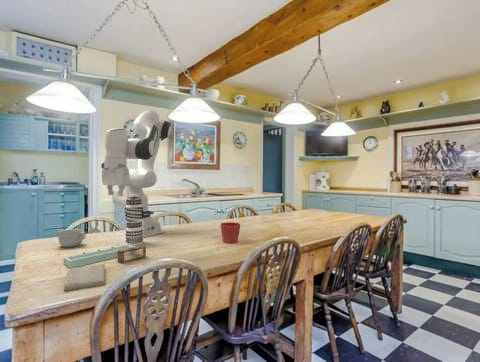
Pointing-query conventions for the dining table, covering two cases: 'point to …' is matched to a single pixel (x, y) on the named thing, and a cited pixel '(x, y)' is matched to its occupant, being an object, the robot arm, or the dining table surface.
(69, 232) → the teacup
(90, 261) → the ledge
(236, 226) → the flower pot
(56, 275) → the dining table surface
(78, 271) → the washcloth
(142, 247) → the wooden block
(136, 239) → the decorative candle
